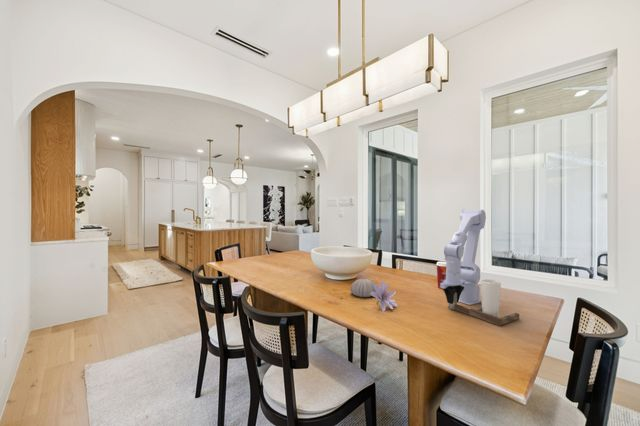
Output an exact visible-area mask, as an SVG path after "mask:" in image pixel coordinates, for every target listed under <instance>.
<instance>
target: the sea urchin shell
mask: <svg viewBox="0 0 640 426" xmlns="http://www.w3.org/2000/svg"><path fill="white" fill-rule="evenodd" d="M374 283H375V282H373V281H372V280H370V279H367V278H359V279H356V280H355V281H354V282H352V284H351V285H350V289H349V291H350V293H351V294H353V295H354V296H356V297H360V298H370V297H373V296H372V295H371V294H370V292H376V293H377V291H376V289H375V287H374Z"/></svg>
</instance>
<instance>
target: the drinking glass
mask: <svg viewBox="0 0 640 426" xmlns="http://www.w3.org/2000/svg"><path fill="white" fill-rule="evenodd" d="M501 286H502V284H501V281H499V280H496V279H487V278H486V279H484V278H483V279H480V301H481V307H482V312H484V313H487V314H490V315H492V316H495V317H498V318H499V312H500V311H499V310H500V301H501V288H502V287H501Z"/></svg>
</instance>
